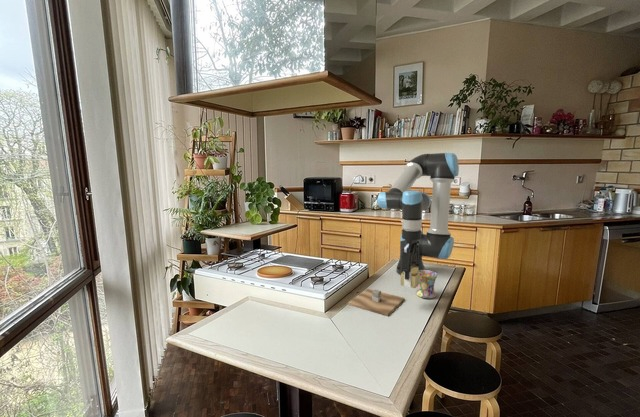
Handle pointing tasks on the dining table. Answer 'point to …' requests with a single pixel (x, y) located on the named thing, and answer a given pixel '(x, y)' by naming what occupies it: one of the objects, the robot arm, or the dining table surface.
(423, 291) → the mug
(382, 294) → the plate
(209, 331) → the dining table surface
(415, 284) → the knob
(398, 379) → the dining table surface
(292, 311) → the dining table surface
